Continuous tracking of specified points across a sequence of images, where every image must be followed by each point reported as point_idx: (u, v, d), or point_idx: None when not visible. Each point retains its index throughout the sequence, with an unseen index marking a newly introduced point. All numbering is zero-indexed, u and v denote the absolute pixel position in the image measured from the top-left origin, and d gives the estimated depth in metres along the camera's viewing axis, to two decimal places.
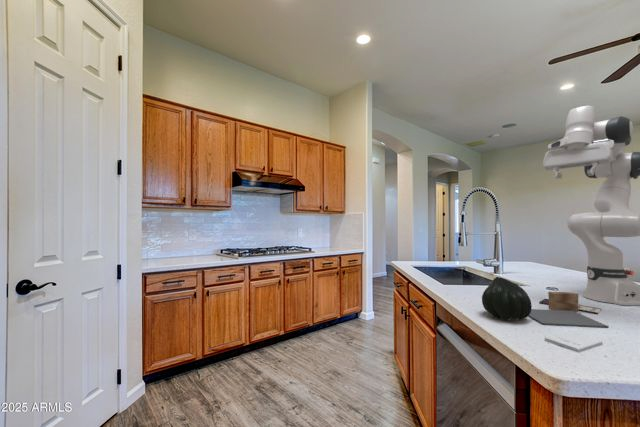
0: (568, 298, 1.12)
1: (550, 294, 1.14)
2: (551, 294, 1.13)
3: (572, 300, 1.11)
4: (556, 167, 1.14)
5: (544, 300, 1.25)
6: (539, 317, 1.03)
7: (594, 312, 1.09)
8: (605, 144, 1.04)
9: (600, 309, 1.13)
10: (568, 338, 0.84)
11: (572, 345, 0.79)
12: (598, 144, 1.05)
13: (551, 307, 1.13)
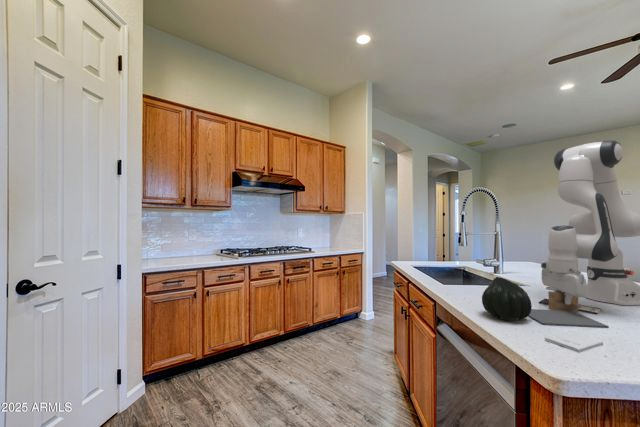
0: None
1: (550, 294, 1.14)
2: (551, 294, 1.13)
3: (572, 300, 1.11)
4: (555, 289, 1.16)
5: (544, 300, 1.25)
6: (539, 317, 1.03)
7: (593, 312, 1.09)
8: (573, 279, 1.05)
9: (600, 309, 1.13)
10: (569, 338, 0.84)
11: (572, 345, 0.79)
12: (570, 277, 1.07)
13: (551, 307, 1.13)
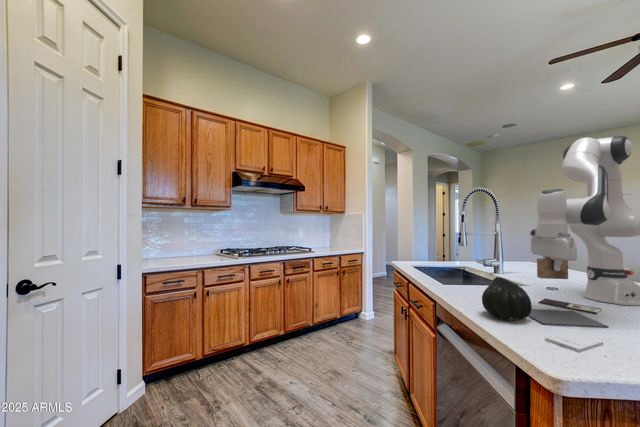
0: None
1: (539, 261, 1.08)
2: (540, 260, 1.07)
3: (562, 266, 1.06)
4: (544, 257, 1.10)
5: (544, 300, 1.25)
6: (539, 317, 1.03)
7: (593, 312, 1.09)
8: (563, 242, 0.99)
9: (600, 309, 1.13)
10: (569, 338, 0.84)
11: (572, 345, 0.79)
12: (559, 241, 1.01)
13: (540, 274, 1.07)
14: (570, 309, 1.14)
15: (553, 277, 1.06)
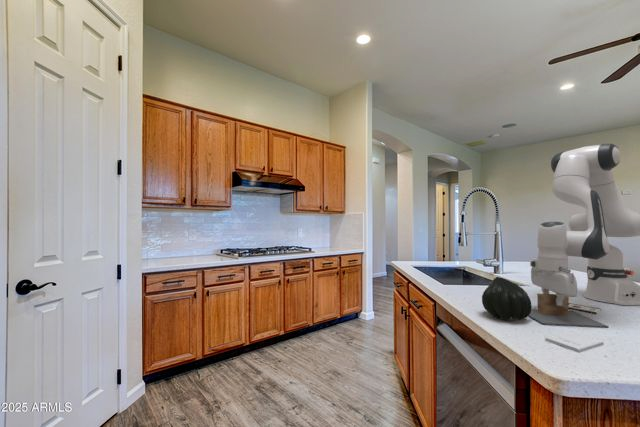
0: None
1: (539, 296, 1.08)
2: (540, 296, 1.07)
3: (562, 303, 1.05)
4: (543, 288, 1.11)
5: None
6: (539, 317, 1.03)
7: (593, 312, 1.09)
8: (563, 278, 0.99)
9: (599, 309, 1.13)
10: (569, 338, 0.84)
11: (572, 345, 0.79)
12: (559, 276, 1.01)
13: (540, 310, 1.07)
14: (570, 309, 1.14)
15: (553, 313, 1.06)
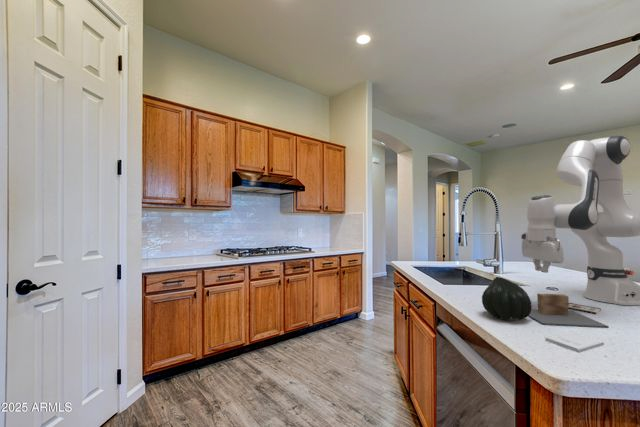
0: (558, 300, 1.06)
1: (539, 296, 1.08)
2: (540, 296, 1.07)
3: (562, 303, 1.05)
4: (534, 259, 1.16)
5: None
6: (539, 317, 1.03)
7: (592, 312, 1.09)
8: (550, 246, 1.06)
9: (599, 309, 1.13)
10: (569, 338, 0.84)
11: (573, 345, 0.79)
12: (547, 244, 1.08)
13: (540, 310, 1.07)
14: None
15: (553, 313, 1.06)
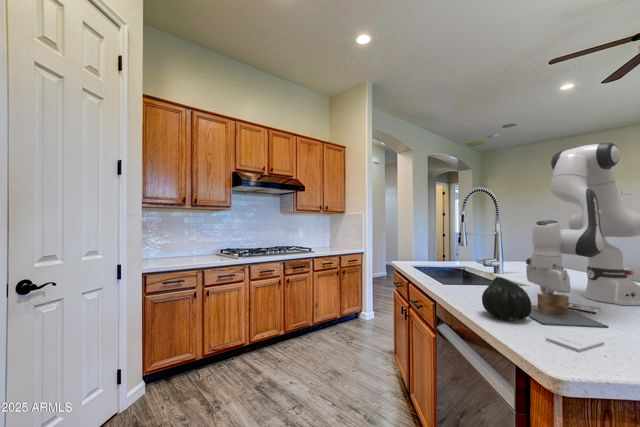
0: (558, 300, 1.06)
1: (539, 296, 1.08)
2: (540, 296, 1.07)
3: (563, 303, 1.05)
4: (541, 286, 1.12)
5: None
6: (539, 317, 1.03)
7: (592, 312, 1.09)
8: (556, 275, 1.02)
9: (599, 309, 1.13)
10: (569, 338, 0.84)
11: (573, 345, 0.79)
12: (553, 272, 1.04)
13: (540, 310, 1.07)
14: None
15: (553, 313, 1.06)
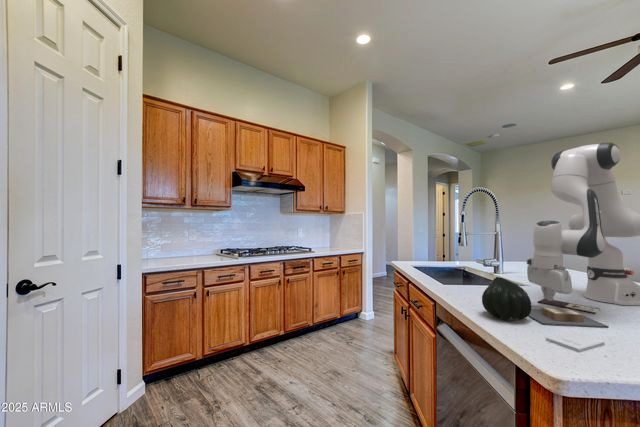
0: None
1: (553, 316, 1.00)
2: (553, 318, 1.00)
3: None
4: (543, 287, 1.12)
5: (543, 300, 1.25)
6: (539, 317, 1.03)
7: (592, 312, 1.09)
8: (558, 275, 1.02)
9: (599, 309, 1.13)
10: (570, 338, 0.84)
11: (573, 345, 0.79)
12: (554, 273, 1.04)
13: (543, 313, 1.05)
14: None
15: None
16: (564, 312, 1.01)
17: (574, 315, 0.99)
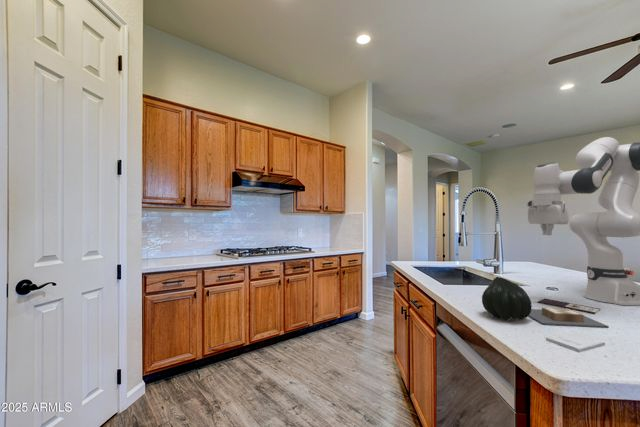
0: None
1: (553, 316, 1.00)
2: (553, 318, 1.00)
3: None
4: (542, 224, 1.21)
5: (543, 300, 1.26)
6: (539, 317, 1.03)
7: (591, 312, 1.10)
8: (556, 208, 1.12)
9: (599, 309, 1.13)
10: (570, 338, 0.84)
11: (573, 345, 0.80)
12: (552, 207, 1.13)
13: (543, 313, 1.05)
14: None
15: None
16: (564, 312, 1.01)
17: (574, 315, 0.99)
